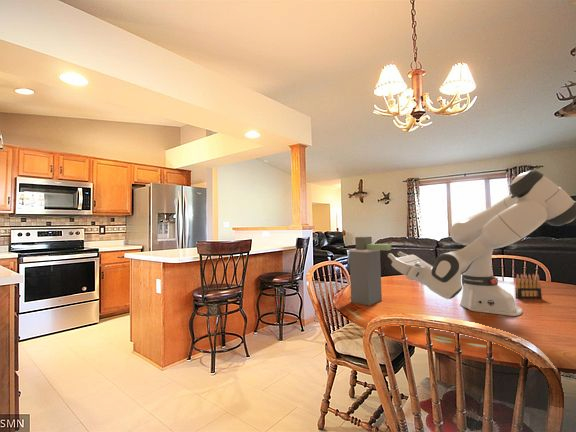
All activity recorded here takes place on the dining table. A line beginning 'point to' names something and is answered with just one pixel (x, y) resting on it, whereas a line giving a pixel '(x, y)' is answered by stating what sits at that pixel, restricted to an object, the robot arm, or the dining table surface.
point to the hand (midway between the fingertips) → (393, 253)
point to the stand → (365, 276)
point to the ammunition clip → (528, 287)
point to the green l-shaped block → (369, 244)
